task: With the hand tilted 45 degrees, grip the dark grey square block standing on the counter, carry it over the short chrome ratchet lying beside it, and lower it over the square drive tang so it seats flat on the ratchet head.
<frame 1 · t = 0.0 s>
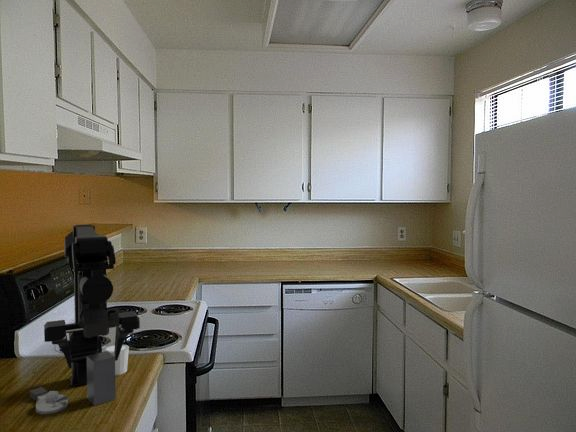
hand: (93, 363, 96), 15 cm above the counter, tool pointing down, fingers open, 9 cm apart
dark grey square block: (101, 398, 111), on the counter
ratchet: (52, 407, 106), on the counter
white tapered cup: (116, 372, 127), on the counter
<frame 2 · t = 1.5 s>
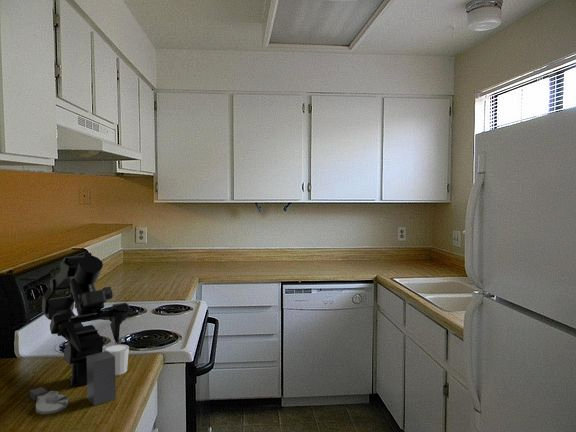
hand: (99, 346, 110), 13 cm above the counter, tool tilted 45°, fingers open, 9 cm apart
nothing on the counter moved.
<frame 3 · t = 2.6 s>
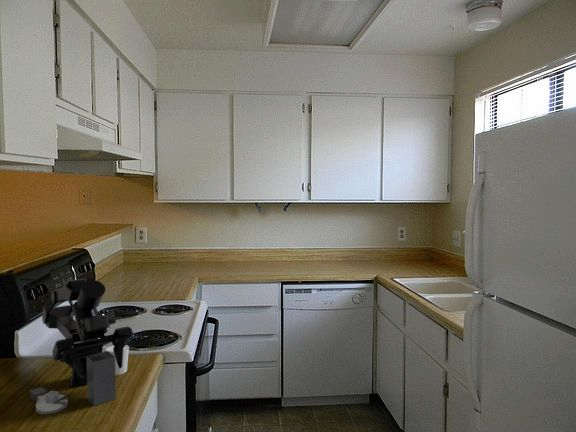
hand: (102, 372, 109), 7 cm above the counter, tool tilted 45°, fingers open, 9 cm apart
nothing on the counter moved.
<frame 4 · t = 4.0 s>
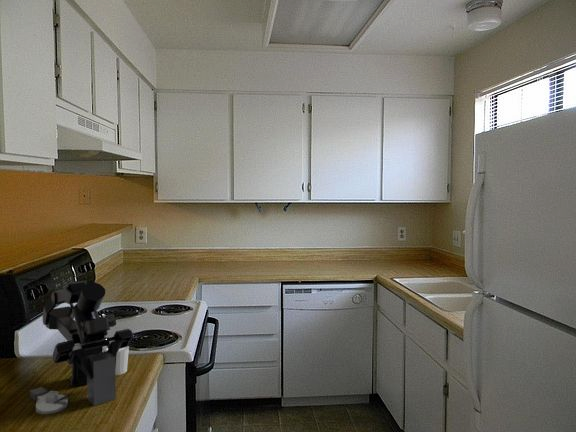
hand: (102, 375, 109), 7 cm above the counter, tool tilted 45°, fingers closed on dark grey square block, 5 cm apart
dark grey square block: (101, 398, 111), on the counter, touching gripper
everything else where it was.
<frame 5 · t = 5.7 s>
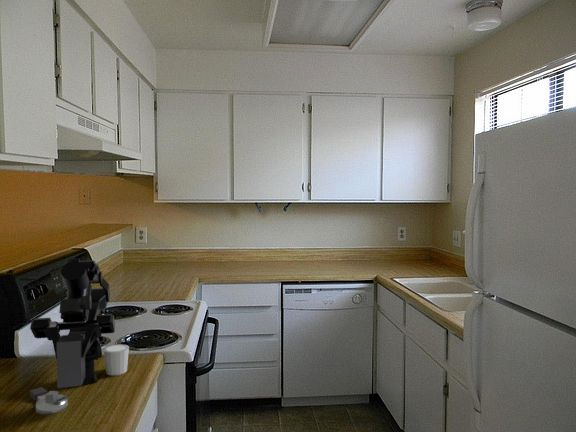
hand: (69, 358, 105), 12 cm above the counter, tool tilted 45°, fingers closed on dark grey square block, 5 cm apart
dark grey square block: (71, 382, 107), point 6 cm above the counter, touching gripper
everything else where it was.
when the fingers open (9 cm above the counter, at t = 7.6 s): dark grey square block drops 1 cm, resting on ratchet.
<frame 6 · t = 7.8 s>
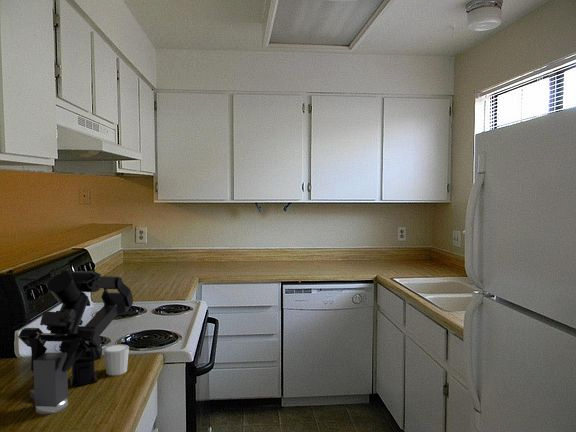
hand: (47, 371, 104), 10 cm above the counter, tool tilted 45°, fingers open, 7 cm apart
dark grey square block: (51, 400, 106), point 2 cm above the counter, touching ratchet
everything else where it was.
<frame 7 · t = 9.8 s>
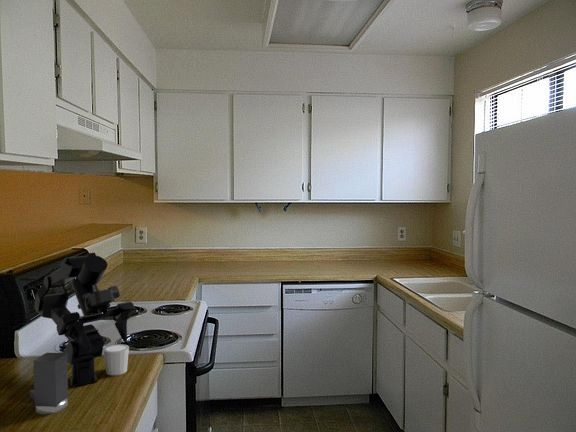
hand: (108, 345, 110), 14 cm above the counter, tool tilted 45°, fingers open, 9 cm apart
nothing on the counter moved.
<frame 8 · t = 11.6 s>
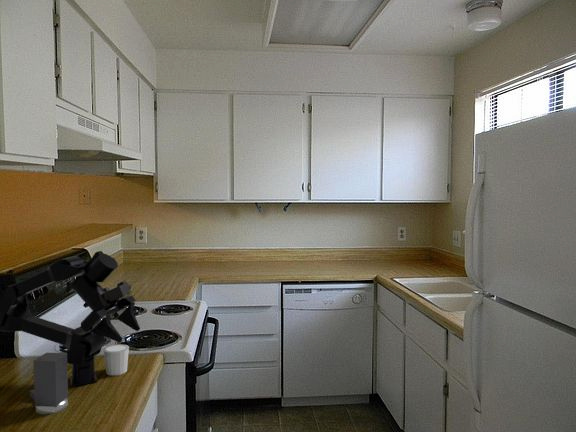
hand: (130, 335, 118), 14 cm above the counter, tool tilted 45°, fingers open, 9 cm apart
nothing on the counter moved.
at the end: dark grey square block 0.1 cm from the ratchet (horizontally); dark grey square block point 1.6 cm above the counter; the gripper is holding nothing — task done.
